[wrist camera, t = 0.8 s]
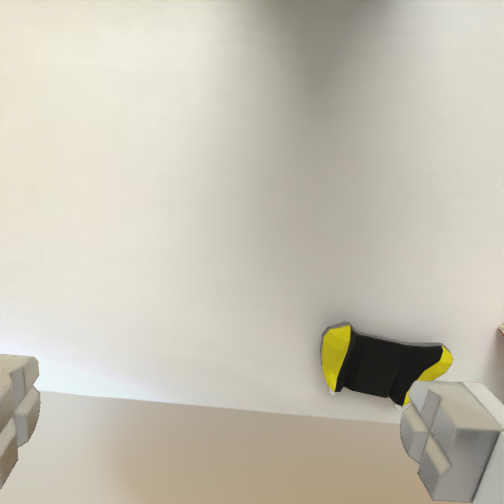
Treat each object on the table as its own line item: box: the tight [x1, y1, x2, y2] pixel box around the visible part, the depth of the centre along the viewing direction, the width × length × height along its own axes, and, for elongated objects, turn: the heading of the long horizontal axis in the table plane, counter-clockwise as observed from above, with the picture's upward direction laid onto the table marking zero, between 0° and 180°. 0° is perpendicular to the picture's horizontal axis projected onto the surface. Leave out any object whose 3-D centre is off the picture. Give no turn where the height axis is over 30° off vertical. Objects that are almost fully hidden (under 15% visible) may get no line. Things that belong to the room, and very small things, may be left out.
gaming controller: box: [321, 322, 453, 409], centre depth 50 cm, size 15×6×10 cm
